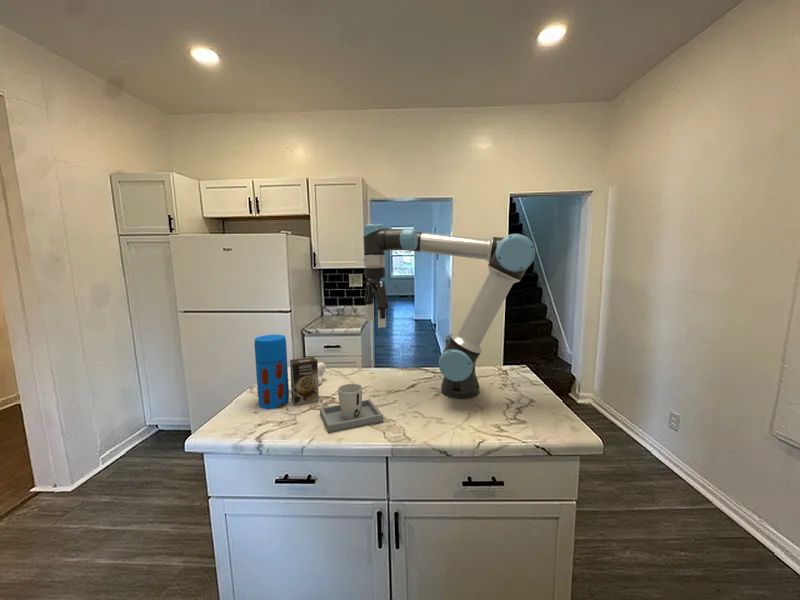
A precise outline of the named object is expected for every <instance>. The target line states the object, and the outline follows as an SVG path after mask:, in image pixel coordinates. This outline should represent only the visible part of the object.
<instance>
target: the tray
mask: <svg viewBox="0 0 800 600" xmlns="http://www.w3.org/2000/svg"><path fill="white" fill-rule="evenodd" d="M319 414H320V418H321V420H322V422H323V424H324V427H325V429H326V432H327V434H332V433H338V432H342V431H347V430H352V429H357V428H362V427H366V426H371V425H372V426H373V425H377V424H381V423H384V414H383V413H382V412H381V411H380V409H379V408H378V407H377V406H376V405H375V403H374V402H373V401H372V400H371V398H368V399H364V400H363V399H362V404H361V410H360V414H359V417H358V418H357V419H353V420H346V419H344V417H343V414H342V412H341V408H340V404H336V405H329V406H323V407H320V408H319Z"/></svg>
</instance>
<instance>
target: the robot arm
mask: <svg viewBox="0 0 800 600" xmlns="http://www.w3.org/2000/svg"><path fill="white" fill-rule="evenodd" d="M362 238H363V255H364V257H363V259H362V261H364V262H363V263H364V278H365V279H366V283H365V289H364V290H365V292H364V299H363V301H364V303H365V306H366V307H365V308H366V322H374V320H375V317H374V316H375V313H374V304H375V302H374V299H376V303H377V306H378V307H377V308H376V310H377V327H378V329H380V328H387V313H386V311H387V309H389V303H388V298H387V291H386V287H385V285H386V283H385V281H384V280H381V279H383V278H385V277H386V268H385V265H386V254H385V253H386V252H385V251H408V252H416V253H417V252H418V253H427V254H436V255H444V256H451V257H460V258H468V259H476V260H483V261H484V260H485V261H487V263H488V265H487V268H488V271H489V272H488V274H487V276H486V277H485V280H484V282H483V284H482V286H481V287H480V290H479V291H478V294H477V296H476V298H475V300H474V301H473V303H472V305H471V306H470V308H469V311H468V313H467V314H466V316H465V319H464V320H463V322H462V324H461V326H460V328H459V330H458V332H457V333H449V334H447V335H446V336H445V340H444V342H445V347H444V349H443V351H442V353H441V354H440V356H439V358H438V368H439V371H440V373H441V374H442V376H443V378H442V381H441V385H440V390H441V393H442V394H443V395H445V396H447V397H450V398H454V399H470V398H471V399H472V398H475V397H477V396H478V395H480V384H479V380H478V378H477V375H476V362H477V361H478V359H479V357H480V354H481V353H482V348H481V343H482V342H483V341H484V338H485V336H486V334H487V332H488V331H489V329H490V327H491V325H492V323H493V321H494V319H495V317H496V316H497V314H498V313H499V311H500V309H501V307H502V305H503V303H504V301H505V299H506V298H507V296H508V294H509V292H510V290H511V288H512V287H513V285H514V284H516V283H519V282H520V281H521V280H522V278H523V277H524V275H525V273H526V271H527V269H528V268H529V267H530V266H531V265H532V263H533V262H534V260H535V258H536V257H535V256H536V249H535V245H534V243H533V241H532V240H531V239H530V238H529V237H527V236H526V235H525V234H524V235H523V234H520V233H511V234H508V235H506V236H504V237H503V236H502V237H501V236H500V237H498V236H492V237H491V238H482V237H472V236H471V237H469V236H459V235H450V234H440V233H431V232H422V231H421V232H420V231H417V230H416V229H415V228H394V229H393V228H392V229H391V228H390V229H386V228H385V226H384V224H383V223H367V224H365V225H364V226H363V236H362Z"/></svg>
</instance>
